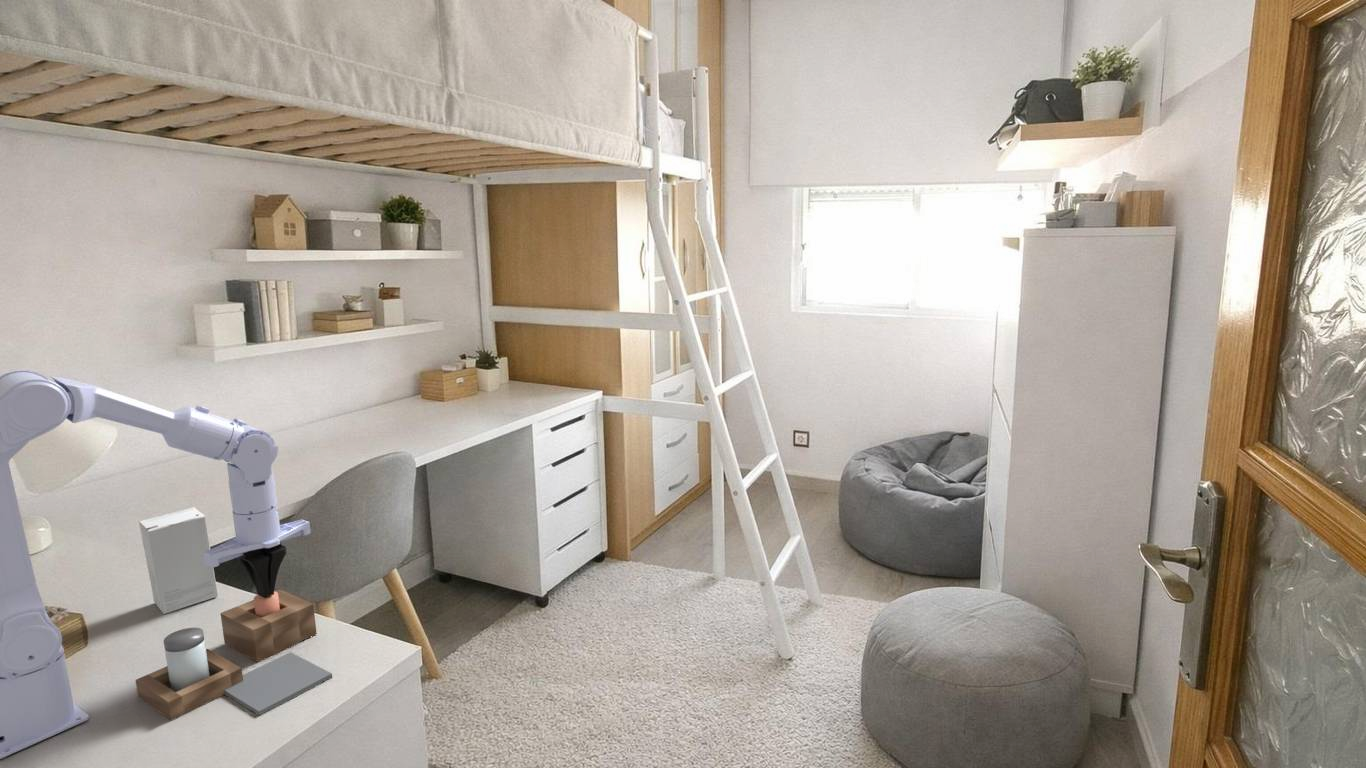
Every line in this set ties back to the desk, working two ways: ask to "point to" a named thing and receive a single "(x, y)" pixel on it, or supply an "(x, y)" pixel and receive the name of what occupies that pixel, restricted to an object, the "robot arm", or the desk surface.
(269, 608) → the plunger
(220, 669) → the sleeve
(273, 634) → the plunger housing
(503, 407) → the desk surface
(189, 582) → the skincare box
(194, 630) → the cylinder
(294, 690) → the pad
